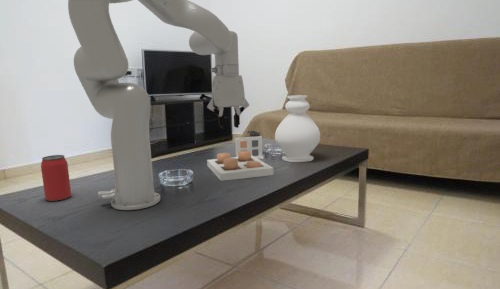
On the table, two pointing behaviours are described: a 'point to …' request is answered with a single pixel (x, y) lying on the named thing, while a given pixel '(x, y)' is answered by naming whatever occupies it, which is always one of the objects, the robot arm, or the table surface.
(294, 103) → the decorative vase
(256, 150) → the pattern card
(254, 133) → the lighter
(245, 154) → the button back right
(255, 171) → the button board
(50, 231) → the table surface
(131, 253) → the table surface
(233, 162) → the button front left
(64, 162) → the beer can
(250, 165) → the button front right
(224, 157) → the button back left
